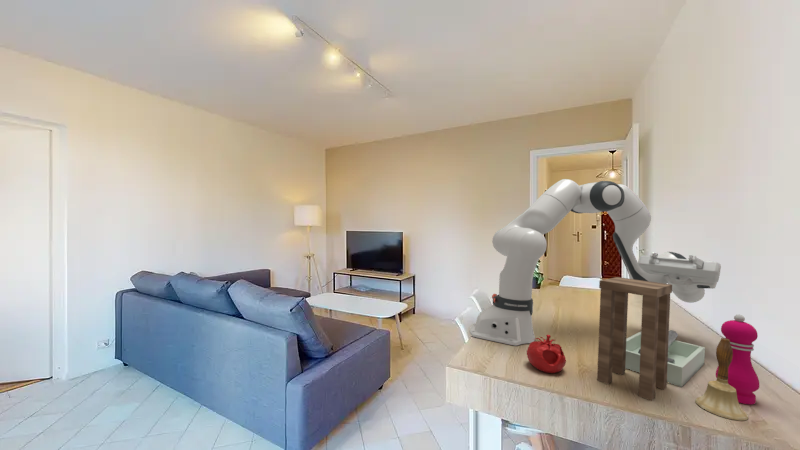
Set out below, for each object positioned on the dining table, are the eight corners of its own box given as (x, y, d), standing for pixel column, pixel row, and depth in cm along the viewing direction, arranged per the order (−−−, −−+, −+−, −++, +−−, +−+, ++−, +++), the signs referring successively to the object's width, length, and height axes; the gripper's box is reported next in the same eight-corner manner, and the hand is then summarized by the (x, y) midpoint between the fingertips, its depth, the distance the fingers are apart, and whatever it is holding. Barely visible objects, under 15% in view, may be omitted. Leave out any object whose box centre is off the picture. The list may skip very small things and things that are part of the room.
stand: (614, 368, 89) (617, 277, 89) (668, 387, 80) (672, 284, 80) (595, 379, 82) (599, 280, 82) (652, 401, 73) (657, 289, 72)
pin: (657, 332, 105) (657, 326, 104) (689, 341, 98) (689, 334, 98) (638, 358, 95) (637, 351, 95) (672, 369, 89) (672, 362, 88)
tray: (640, 346, 108) (640, 331, 108) (704, 363, 95) (704, 347, 95) (610, 363, 93) (610, 346, 93) (681, 387, 80) (682, 367, 80)
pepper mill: (738, 390, 79) (741, 311, 79) (768, 407, 72) (772, 320, 72) (706, 388, 80) (709, 309, 80) (733, 404, 73) (737, 318, 72)
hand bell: (740, 407, 72) (743, 337, 72) (754, 426, 65) (758, 348, 65) (691, 395, 76) (694, 329, 76) (699, 411, 69) (702, 339, 69)
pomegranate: (518, 363, 91) (520, 331, 91) (543, 358, 95) (545, 327, 95) (547, 379, 82) (549, 343, 82) (574, 373, 86) (575, 339, 86)
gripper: (645, 263, 116) (634, 244, 109) (724, 271, 99) (718, 250, 92) (642, 278, 114) (630, 260, 107) (722, 289, 97) (715, 269, 90)
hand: (671, 255), depth 99 cm, fingers open, 8 cm apart
